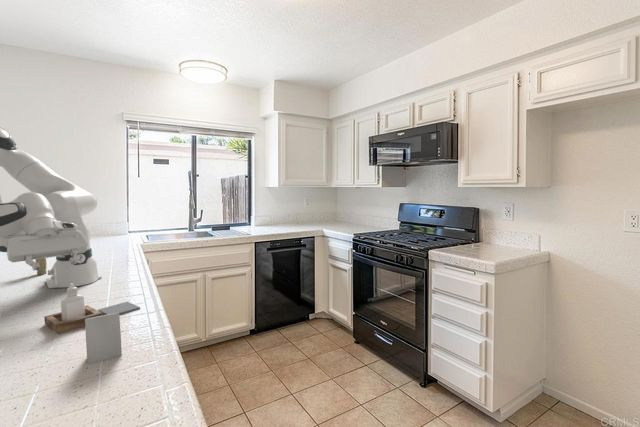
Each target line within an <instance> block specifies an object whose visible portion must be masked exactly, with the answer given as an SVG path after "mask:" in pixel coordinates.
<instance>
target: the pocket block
mask: <svg viewBox="0 0 640 427" xmlns="http://www.w3.org/2000/svg"><path fill="white" fill-rule="evenodd" d="M97 316H103V314H102V313H101V312H99V311H98V309H95V308H94V307H91V306H90V305H85V316H84V317H80V318H76V319H73V320H69V321H65V322H62V313H61V312H60V311H59V312H56V313H52V314H49V315H45V316H44V317H43V318H44V325H45V326H46V327H47V328H48V329H50V330H51V331H52V332H54V333H56V335H60V334H64V333H68V332H71V331H74V330H76V329H81V328H83V327H84V328H85V319H87V318H92V317H97Z"/></svg>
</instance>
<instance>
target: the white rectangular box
mask: <svg viewBox="0 0 640 427" xmlns="http://www.w3.org/2000/svg"><path fill="white" fill-rule="evenodd" d="M84 328H85V329H84V330H85V346H86V360H87V361H86V362H87V363H86V364H87V365H89V364H93V363H97V362H101V361H105V360H110V359H113V358H116V357H121V356H123V351H122V333H121V320H120V315H119V313H113V314H108V315H104V314H102V316H97V317H92V318H87V319H85V326H84Z"/></svg>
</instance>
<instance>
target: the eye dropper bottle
mask: <svg viewBox="0 0 640 427" xmlns="http://www.w3.org/2000/svg"><path fill="white" fill-rule="evenodd" d="M85 306H86V305H85V297H84V295H82V294H79V293H78V286H75V287H74V285H73V283H71V284H70V287H66V296H65V297H64V298H63V299H61V301H60V311H61V313H62V322H65V321H69V320H73V319H76V318H80V317H84V316H85Z"/></svg>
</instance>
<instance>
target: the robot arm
mask: <svg viewBox="0 0 640 427" xmlns="http://www.w3.org/2000/svg"><path fill="white" fill-rule="evenodd" d="M0 167H2V168H3V169H4V170H5V171H6V173H7V174H9V175H10V176H11V177H12V178H13V179H14V180H16V181H17V183H20V184H21V185H22V186H23V187H25V188H26V189H27V190H28V191H30V192H23V193H21V194H19V195H18V196H17V197H16V198H14V199H12V200H11V201H8V202H6V203H5V202H3V199H2V197H1V195H0V252H1V253H6V255H7V261H9V262H11V263H18V262H19V263H20V262H24V263H25V264H26V265H28V266H30V267H31V268H32V271H33V272H34V271H37V270H40V265H39V262H37V263H36V262H35V261H34V260H35V259H42V258H46V259H48V258H55V263H54V264H53V265H52V267H51V268H50V269H48V270H47V275H48V276H51V277H48V278H46V279H45V283H46V285H47V288H48V289H55V288H56V289H57V288H69V287H70V284H71V283H73V285H74V287H79V286H85V285H89V284H93V283H95V282H96V281H98V280H100V279H102V278H103V277H102V275H101V274H99V272H98V265H97V260H95V259H94V258H93V250H92V248H91V239H90V238H91V236H90V230H89V228H87V227H86V225H85V222H84V221H83V217H82V216H86V215H89V214H90V213H92V212H93V211H95V210H96V209H97V207H98V200H97V198H96V196H95V194H93V193H92V192H88V191H86V190H84V189H83V188H80V187H79V186H77V185H76V184H74V183H73V182H71V181H69V180H68V179H65V178H64V177H62V176H60V175H59V174H57V173H56V172H55V171H54V170H52V169H51V168H49V167H48V166H47V165H46V164H44V163H43V162H42V161H41V160H39V159H38V158H36V157H35V156H34V155H32V154H30V153H28V152H27V151H25V150H23V149H19V148H18V144H17V143H16V142H15V140H14V138H13V137H12V135H11V134H10V133H9V132H8V131H7V130H6V129H4V128H2V127H0Z"/></svg>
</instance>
